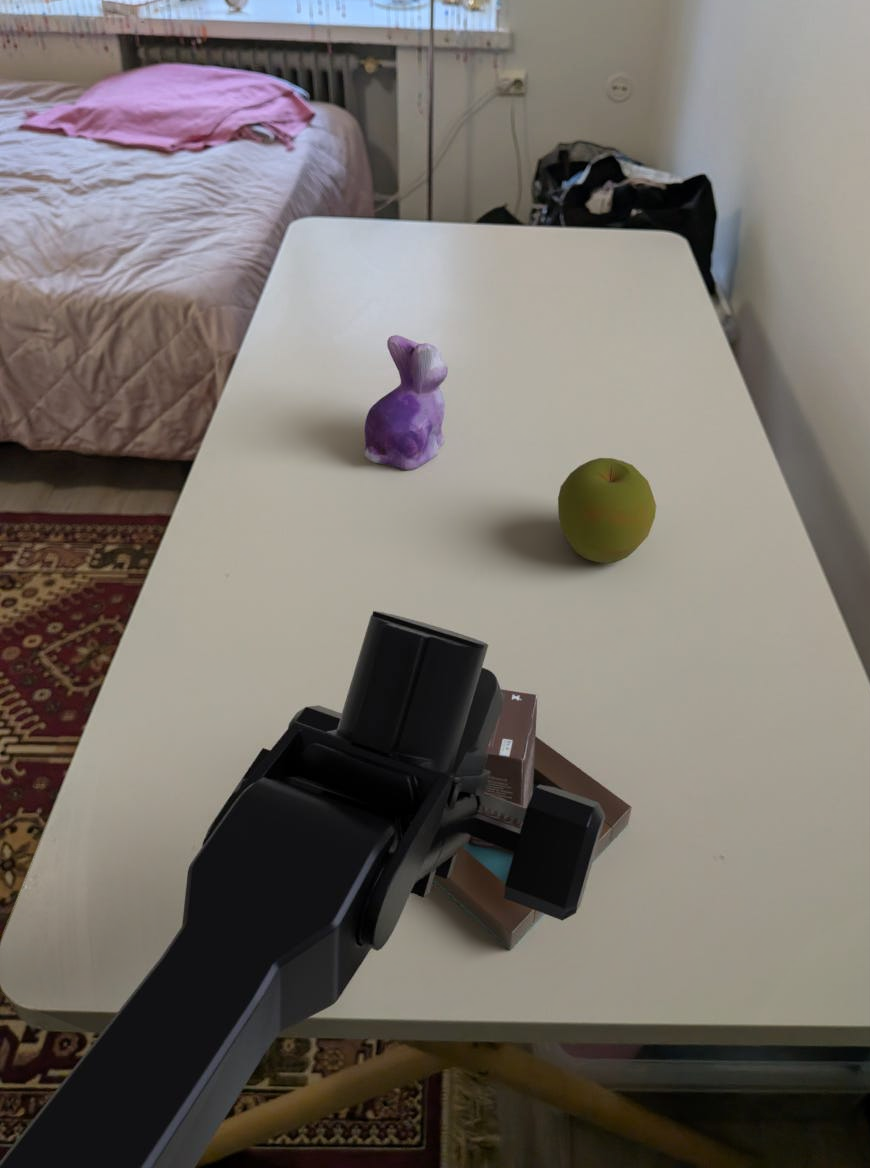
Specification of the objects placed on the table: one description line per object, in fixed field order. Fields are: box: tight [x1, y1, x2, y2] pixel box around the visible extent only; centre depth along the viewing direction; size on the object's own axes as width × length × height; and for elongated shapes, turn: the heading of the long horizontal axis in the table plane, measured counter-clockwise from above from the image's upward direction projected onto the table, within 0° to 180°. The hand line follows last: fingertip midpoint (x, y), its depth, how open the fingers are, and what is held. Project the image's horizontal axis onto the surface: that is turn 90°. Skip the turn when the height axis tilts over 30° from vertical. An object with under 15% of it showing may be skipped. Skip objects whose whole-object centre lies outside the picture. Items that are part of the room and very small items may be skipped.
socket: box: [433, 736, 632, 951], centre depth 74 cm, size 14×15×2 cm
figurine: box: [364, 334, 449, 471], centre depth 109 cm, size 9×10×15 cm
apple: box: [557, 457, 657, 564], centre depth 97 cm, size 10×10×11 cm
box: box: [469, 688, 538, 853], centre depth 71 cm, size 6×4×12 cm
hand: (469, 787), depth 62 cm, fingers open, 9 cm apart
